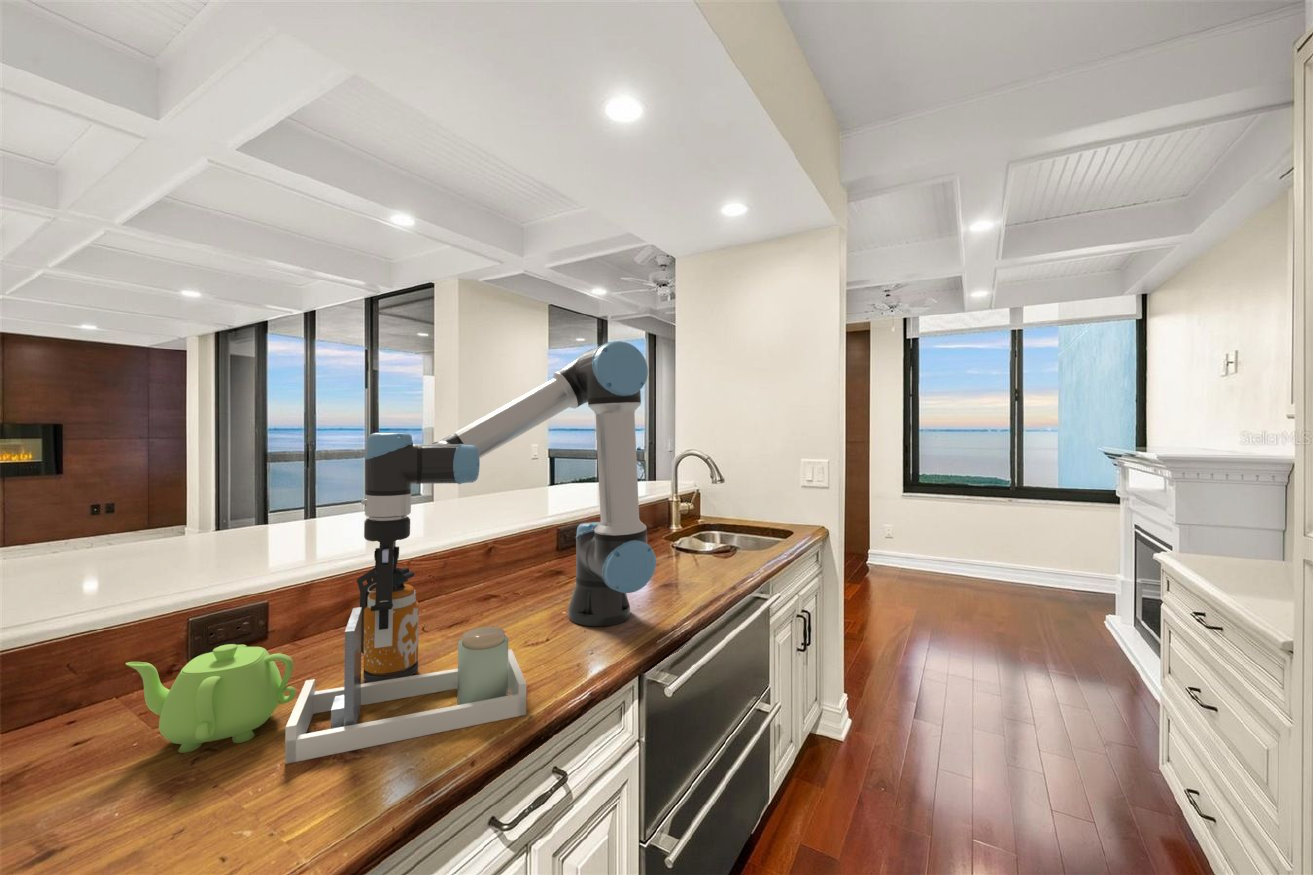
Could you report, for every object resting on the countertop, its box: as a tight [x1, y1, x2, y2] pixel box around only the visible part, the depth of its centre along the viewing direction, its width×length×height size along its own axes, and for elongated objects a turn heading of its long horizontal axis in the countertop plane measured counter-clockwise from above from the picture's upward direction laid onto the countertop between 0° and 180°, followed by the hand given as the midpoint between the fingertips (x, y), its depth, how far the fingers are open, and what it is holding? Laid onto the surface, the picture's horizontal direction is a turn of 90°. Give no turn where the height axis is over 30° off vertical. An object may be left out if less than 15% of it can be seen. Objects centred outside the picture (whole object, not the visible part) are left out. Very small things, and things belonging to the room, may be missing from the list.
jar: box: [456, 626, 509, 705], centre depth 88 cm, size 8×8×11 cm
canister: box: [356, 567, 420, 683], centre depth 97 cm, size 9×11×20 cm
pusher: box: [330, 607, 362, 729], centre depth 80 cm, size 3×11×16 cm, turn 25°
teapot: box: [125, 643, 297, 754], centre depth 78 cm, size 16×14×13 cm
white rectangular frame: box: [284, 648, 527, 765], centre depth 84 cm, size 32×14×5 cm, turn 114°
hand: (385, 632), depth 97 cm, fingers open, 13 cm apart
